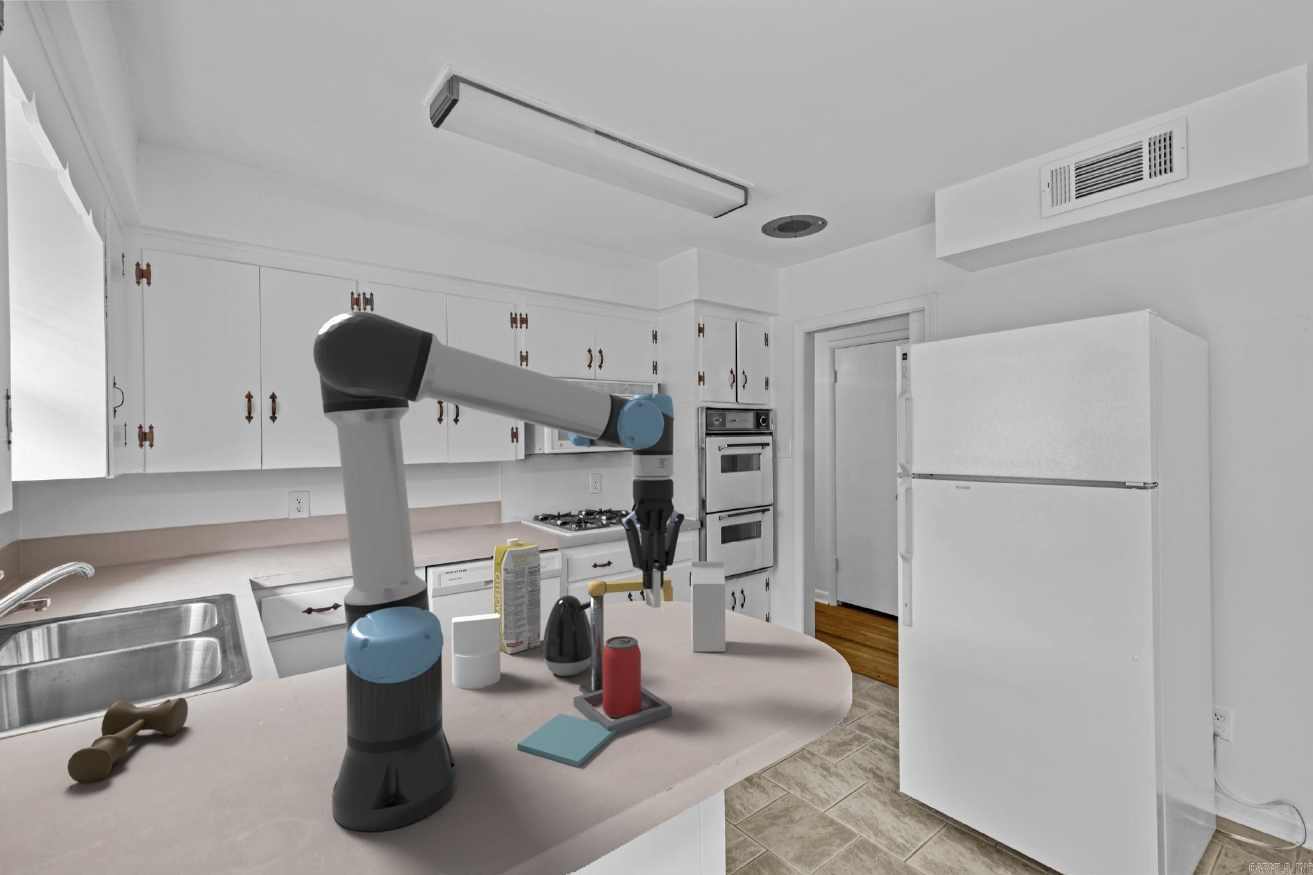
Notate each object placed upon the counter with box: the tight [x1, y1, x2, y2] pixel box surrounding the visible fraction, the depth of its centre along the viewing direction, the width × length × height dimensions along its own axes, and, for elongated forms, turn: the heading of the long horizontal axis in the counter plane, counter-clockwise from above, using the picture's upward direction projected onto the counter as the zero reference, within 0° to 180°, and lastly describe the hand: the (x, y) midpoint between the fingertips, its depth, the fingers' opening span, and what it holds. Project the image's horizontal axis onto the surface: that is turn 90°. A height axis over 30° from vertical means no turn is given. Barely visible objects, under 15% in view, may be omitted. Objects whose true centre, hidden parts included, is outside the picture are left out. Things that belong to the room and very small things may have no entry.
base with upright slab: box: [451, 613, 501, 690], centre depth 117 cm, size 9×9×12 cm
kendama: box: [67, 697, 189, 784], centre depth 92 cm, size 6×10×20 cm
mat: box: [516, 713, 617, 768], centre depth 94 cm, size 11×11×1 cm
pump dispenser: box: [542, 594, 591, 677], centre depth 121 cm, size 10×10×15 cm
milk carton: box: [690, 561, 726, 653], centre depth 134 cm, size 7×7×19 cm
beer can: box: [602, 635, 642, 719], centre depth 104 cm, size 7×7×12 cm
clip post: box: [578, 595, 605, 695], centre depth 111 cm, size 5×5×18 cm
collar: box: [573, 685, 673, 734], centre depth 104 cm, size 12×12×2 cm
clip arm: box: [587, 577, 674, 602], centre depth 112 cm, size 16×3×4 cm, turn 104°
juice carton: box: [492, 538, 542, 655], centre depth 134 cm, size 9×8×24 cm
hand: (653, 605), depth 111 cm, fingers closed
